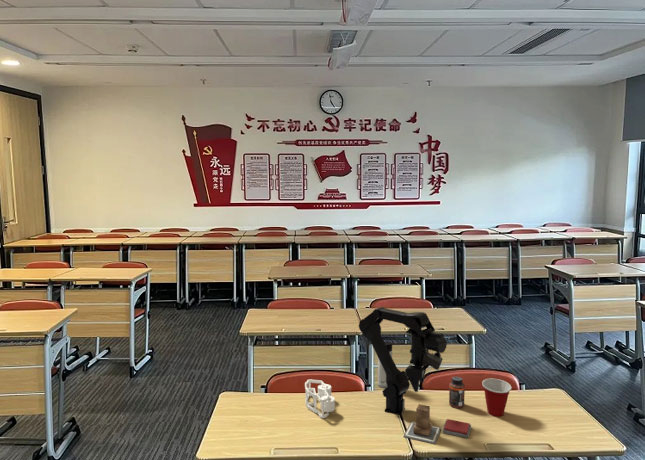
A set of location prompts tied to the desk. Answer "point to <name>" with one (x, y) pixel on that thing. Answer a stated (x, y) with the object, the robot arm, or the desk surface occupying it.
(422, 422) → the stamp
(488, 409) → the plastic cup
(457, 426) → the ink pad
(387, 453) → the desk surface
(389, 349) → the travel mug
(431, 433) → the marked board
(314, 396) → the white open frame block
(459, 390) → the supplement bottle
